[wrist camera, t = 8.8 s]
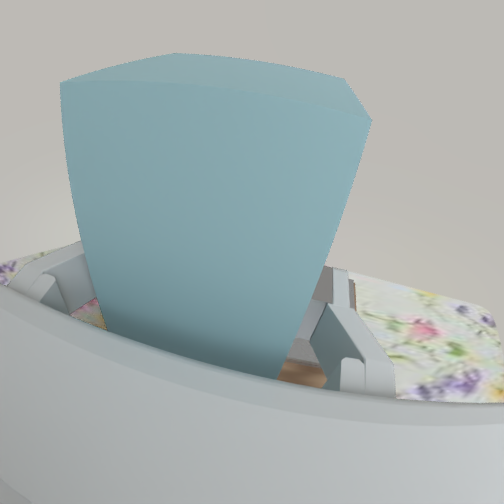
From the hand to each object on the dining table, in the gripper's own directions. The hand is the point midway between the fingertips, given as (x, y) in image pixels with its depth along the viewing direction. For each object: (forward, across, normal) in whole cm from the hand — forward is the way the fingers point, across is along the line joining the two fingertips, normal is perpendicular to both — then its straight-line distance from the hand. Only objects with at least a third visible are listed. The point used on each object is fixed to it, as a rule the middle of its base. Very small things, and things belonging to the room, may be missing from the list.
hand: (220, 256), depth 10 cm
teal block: (-1, 0, +8) cm, 8 cm away
